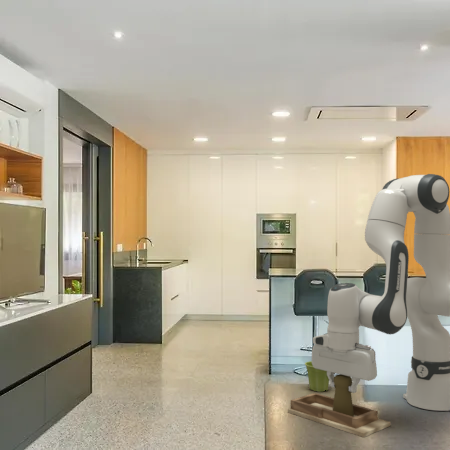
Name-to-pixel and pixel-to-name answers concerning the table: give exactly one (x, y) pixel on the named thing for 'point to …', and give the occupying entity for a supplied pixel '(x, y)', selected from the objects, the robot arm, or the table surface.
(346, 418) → the wooden tray
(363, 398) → the table surface
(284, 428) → the table surface
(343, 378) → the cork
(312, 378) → the plant pot
